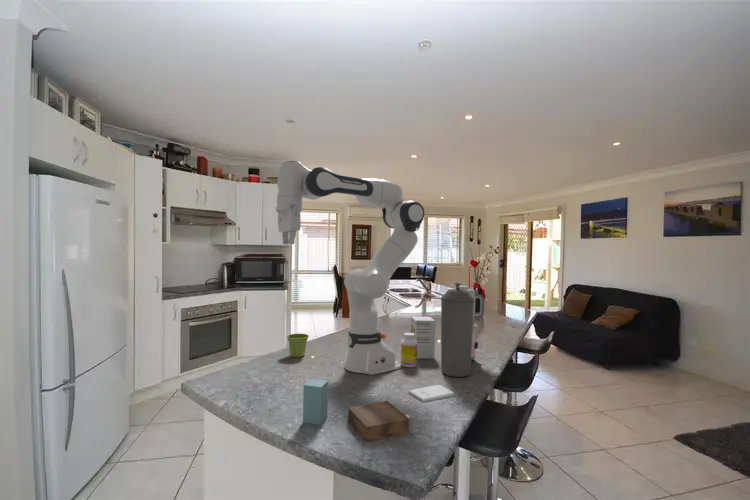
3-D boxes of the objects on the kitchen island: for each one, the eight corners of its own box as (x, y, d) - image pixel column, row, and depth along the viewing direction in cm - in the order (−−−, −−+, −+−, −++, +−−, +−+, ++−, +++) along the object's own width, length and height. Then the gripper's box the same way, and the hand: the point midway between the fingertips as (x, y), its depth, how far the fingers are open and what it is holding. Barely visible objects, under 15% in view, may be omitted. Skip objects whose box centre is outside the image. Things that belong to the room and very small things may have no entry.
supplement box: (409, 352, 168) (410, 316, 168) (429, 352, 169) (430, 316, 169) (414, 358, 159) (415, 320, 159) (434, 358, 160) (435, 320, 160)
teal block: (310, 414, 102) (311, 378, 102) (327, 416, 101) (328, 380, 101) (302, 422, 97) (303, 385, 97) (320, 425, 96) (321, 387, 96)
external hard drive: (454, 397, 118) (422, 404, 113) (438, 388, 126) (408, 394, 120) (454, 392, 118) (422, 398, 113) (438, 384, 126) (408, 389, 120)
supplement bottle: (416, 368, 145) (416, 336, 145) (399, 367, 146) (400, 335, 146) (417, 363, 152) (418, 332, 152) (401, 362, 153) (402, 331, 153)
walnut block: (387, 414, 104) (387, 400, 104) (408, 434, 93) (409, 418, 93) (347, 422, 99) (348, 407, 99) (366, 443, 88) (366, 427, 88)
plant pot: (288, 359, 152) (288, 339, 152) (284, 353, 161) (285, 334, 161) (310, 357, 156) (311, 337, 156) (305, 352, 164) (306, 332, 164)
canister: (461, 366, 149) (463, 281, 149) (479, 377, 137) (481, 284, 137) (433, 369, 145) (435, 281, 145) (449, 380, 133) (451, 284, 133)
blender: (443, 361, 156) (445, 286, 156) (448, 353, 168) (449, 284, 168) (481, 366, 151) (483, 288, 151) (483, 358, 162) (485, 286, 162)
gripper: (305, 203, 123) (304, 244, 123) (291, 209, 142) (290, 244, 142) (287, 202, 121) (285, 243, 121) (275, 208, 139) (274, 244, 139)
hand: (288, 244), depth 131 cm, fingers open, 8 cm apart
